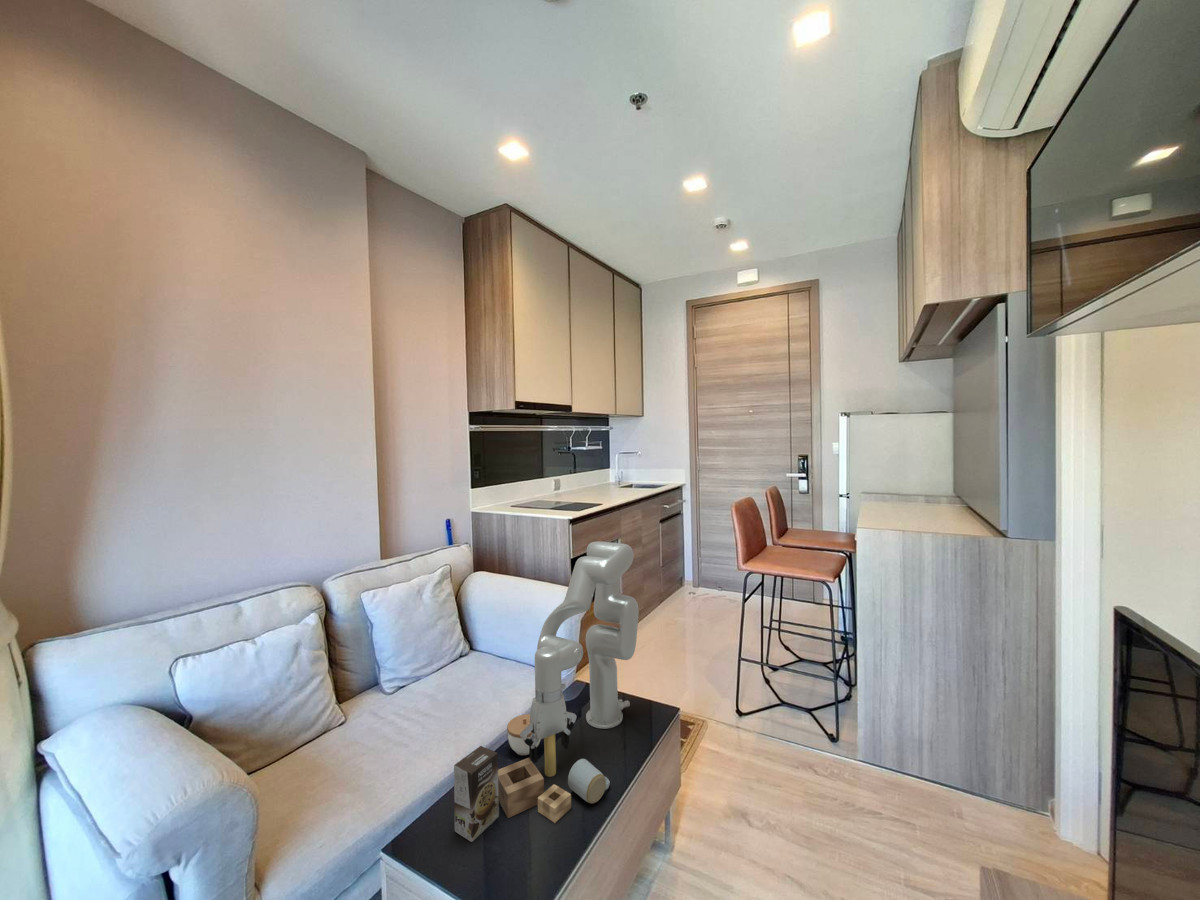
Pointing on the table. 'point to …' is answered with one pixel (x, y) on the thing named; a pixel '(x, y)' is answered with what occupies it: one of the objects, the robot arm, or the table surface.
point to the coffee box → (476, 792)
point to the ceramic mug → (587, 781)
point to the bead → (519, 787)
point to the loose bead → (554, 803)
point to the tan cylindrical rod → (550, 755)
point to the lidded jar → (514, 734)
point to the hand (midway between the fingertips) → (549, 753)
